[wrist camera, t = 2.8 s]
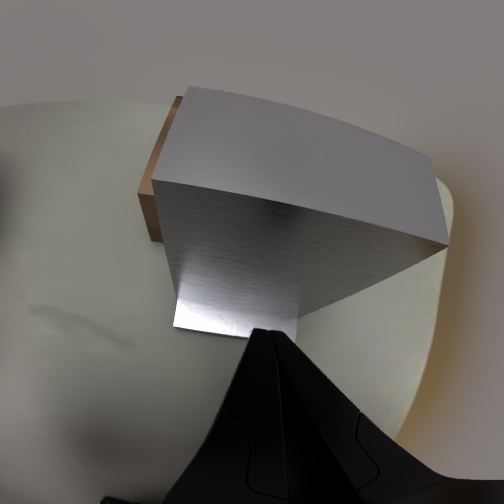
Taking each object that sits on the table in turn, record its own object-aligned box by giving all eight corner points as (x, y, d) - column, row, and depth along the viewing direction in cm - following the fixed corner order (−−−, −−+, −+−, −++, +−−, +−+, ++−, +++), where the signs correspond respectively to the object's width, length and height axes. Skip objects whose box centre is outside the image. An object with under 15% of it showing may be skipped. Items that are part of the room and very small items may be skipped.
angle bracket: (289, 343, 15) (456, 302, 5) (174, 327, 14) (129, 252, 4) (295, 255, 17) (417, 124, 7) (191, 237, 16) (202, 58, 6)
